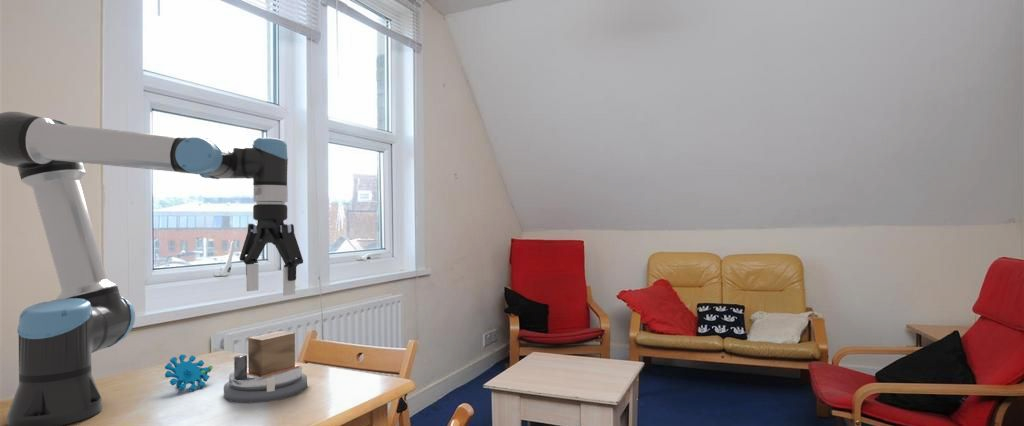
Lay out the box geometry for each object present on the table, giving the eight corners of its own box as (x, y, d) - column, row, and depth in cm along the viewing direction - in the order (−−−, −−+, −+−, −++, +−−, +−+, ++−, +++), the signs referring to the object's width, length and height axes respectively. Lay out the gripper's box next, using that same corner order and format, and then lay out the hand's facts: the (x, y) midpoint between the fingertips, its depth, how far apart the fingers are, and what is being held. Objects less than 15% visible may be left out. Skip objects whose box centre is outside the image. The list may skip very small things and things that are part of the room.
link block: (248, 372, 132) (248, 337, 132) (281, 363, 140) (281, 330, 140) (262, 375, 129) (261, 340, 129) (294, 365, 137) (294, 332, 137)
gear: (173, 389, 128) (162, 354, 133) (161, 405, 130) (151, 369, 135) (220, 384, 137) (208, 351, 142) (208, 399, 139) (197, 365, 144)
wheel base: (207, 394, 130) (207, 372, 130) (275, 375, 146) (275, 355, 146) (256, 407, 121) (256, 384, 121) (323, 385, 136) (323, 364, 136)
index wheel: (234, 374, 138) (234, 345, 138) (303, 368, 143) (303, 340, 143) (223, 393, 123) (223, 361, 123) (300, 386, 128) (300, 355, 128)
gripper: (224, 203, 138) (224, 290, 138) (291, 202, 125) (291, 298, 125) (251, 204, 144) (251, 287, 144) (319, 203, 131) (318, 294, 131)
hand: (270, 292), depth 134 cm, fingers open, 13 cm apart
